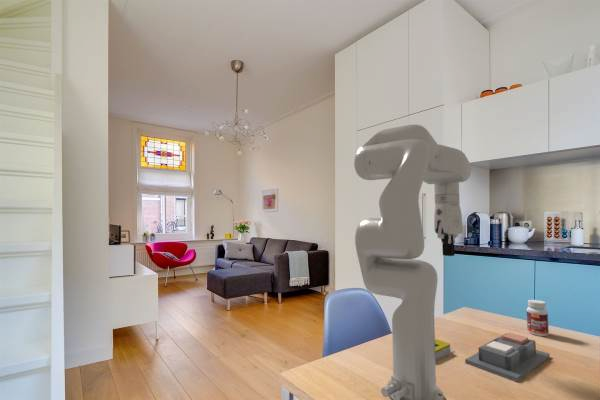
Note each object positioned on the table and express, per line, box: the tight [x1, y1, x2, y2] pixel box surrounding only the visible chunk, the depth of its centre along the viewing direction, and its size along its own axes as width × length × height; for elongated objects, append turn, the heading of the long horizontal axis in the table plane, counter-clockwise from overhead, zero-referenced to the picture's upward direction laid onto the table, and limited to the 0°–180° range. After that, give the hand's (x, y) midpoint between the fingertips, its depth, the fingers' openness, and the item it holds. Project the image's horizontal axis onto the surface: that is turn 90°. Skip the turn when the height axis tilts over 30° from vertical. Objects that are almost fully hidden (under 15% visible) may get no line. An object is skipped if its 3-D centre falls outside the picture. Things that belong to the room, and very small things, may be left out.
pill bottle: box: [526, 299, 550, 337], centre depth 113 cm, size 6×6×11 cm
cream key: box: [486, 341, 513, 355], centre depth 89 cm, size 5×5×3 cm
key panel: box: [464, 332, 550, 383], centre depth 92 cm, size 24×13×4 cm, turn 126°
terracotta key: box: [503, 332, 529, 345], centre depth 96 cm, size 5×5×3 cm
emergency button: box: [435, 338, 455, 362], centre depth 98 cm, size 9×4×15 cm
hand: (448, 255), depth 104 cm, fingers closed
